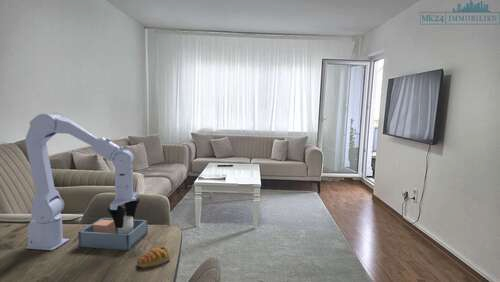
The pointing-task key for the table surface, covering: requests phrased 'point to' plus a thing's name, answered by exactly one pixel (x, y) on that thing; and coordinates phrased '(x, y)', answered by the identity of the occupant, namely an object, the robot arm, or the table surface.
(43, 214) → the robot arm
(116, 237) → the tote
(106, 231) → the cube
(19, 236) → the table surface
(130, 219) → the white egg shape
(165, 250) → the pastry
